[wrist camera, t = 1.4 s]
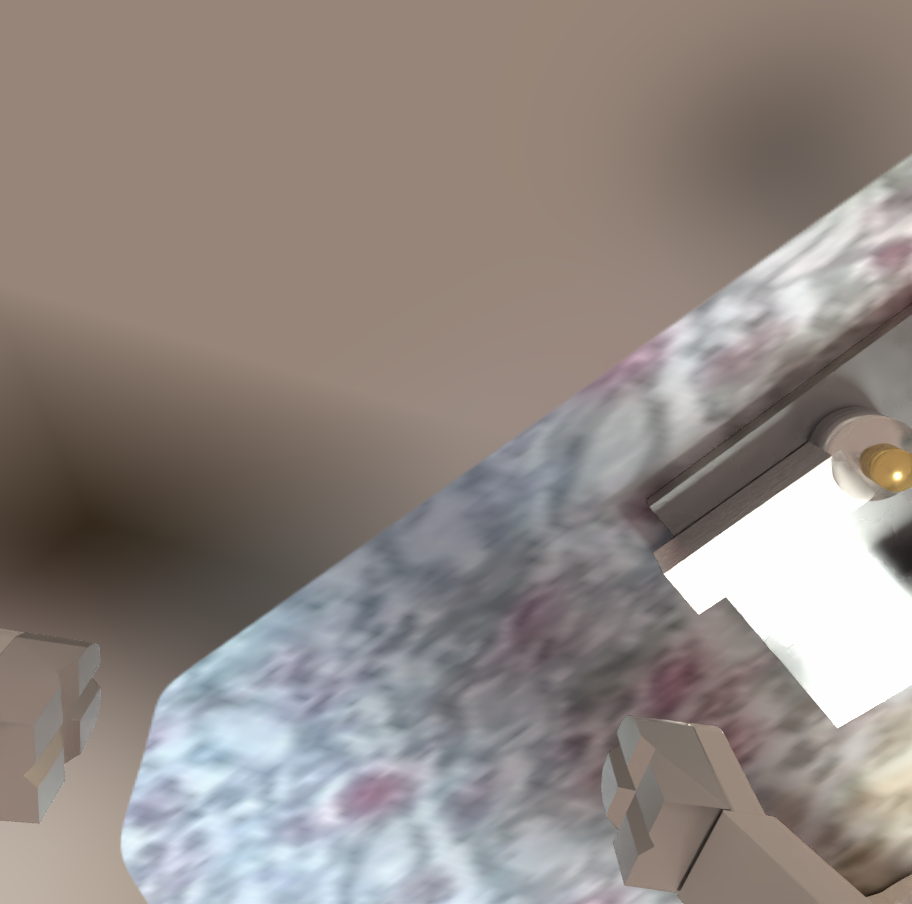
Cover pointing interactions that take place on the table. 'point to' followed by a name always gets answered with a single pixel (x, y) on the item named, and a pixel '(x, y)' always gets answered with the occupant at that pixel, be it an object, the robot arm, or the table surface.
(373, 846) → the table surface
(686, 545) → the link
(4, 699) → the robot arm
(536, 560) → the table surface
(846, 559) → the pintle base
